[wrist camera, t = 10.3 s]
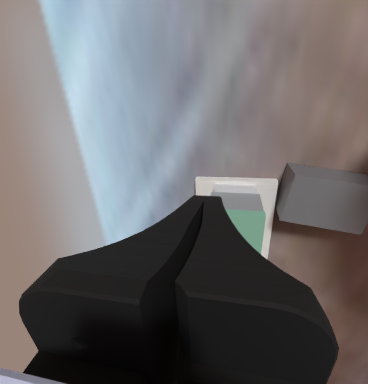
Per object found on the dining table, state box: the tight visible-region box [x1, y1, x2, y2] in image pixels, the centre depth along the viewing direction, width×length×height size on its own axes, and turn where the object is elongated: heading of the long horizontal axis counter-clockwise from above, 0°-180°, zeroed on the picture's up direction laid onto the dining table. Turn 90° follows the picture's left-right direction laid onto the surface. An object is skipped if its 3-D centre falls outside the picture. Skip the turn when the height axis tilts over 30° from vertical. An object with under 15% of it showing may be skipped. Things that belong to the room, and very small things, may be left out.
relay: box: [275, 163, 368, 235], centre depth 18 cm, size 6×4×3 cm, turn 84°
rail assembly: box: [195, 177, 278, 259], centre depth 21 cm, size 7×15×5 cm, turn 2°
